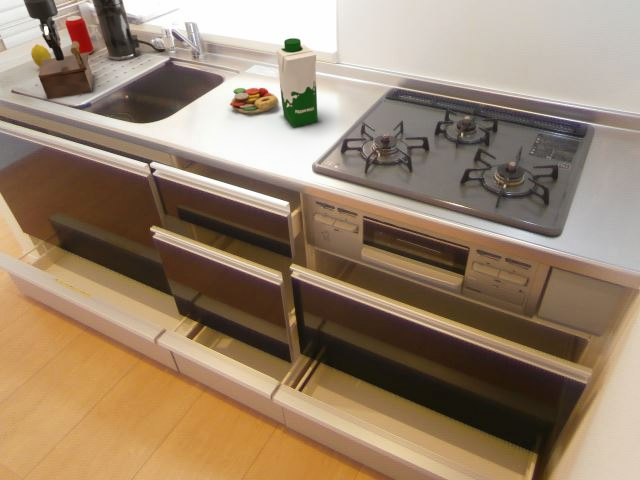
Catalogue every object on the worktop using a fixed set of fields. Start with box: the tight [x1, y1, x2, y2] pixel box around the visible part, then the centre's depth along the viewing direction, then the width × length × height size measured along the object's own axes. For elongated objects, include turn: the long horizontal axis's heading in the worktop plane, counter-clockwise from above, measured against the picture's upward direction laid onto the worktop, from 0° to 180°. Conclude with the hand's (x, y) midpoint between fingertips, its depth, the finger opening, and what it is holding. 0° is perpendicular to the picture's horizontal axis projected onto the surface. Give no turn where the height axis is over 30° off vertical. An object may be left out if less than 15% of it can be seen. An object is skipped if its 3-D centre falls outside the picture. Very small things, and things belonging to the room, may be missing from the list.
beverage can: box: [65, 15, 94, 55], centre depth 176 cm, size 6×6×12 cm
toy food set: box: [229, 87, 279, 115], centre depth 141 cm, size 13×13×3 cm
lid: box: [38, 41, 90, 79], centre depth 151 cm, size 13×13×6 cm
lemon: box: [30, 43, 52, 68], centre depth 167 cm, size 6×6×8 cm
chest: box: [39, 62, 94, 100], centre depth 155 cm, size 13×13×6 cm
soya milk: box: [276, 37, 319, 128], centre depth 129 cm, size 9×9×20 cm
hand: (60, 59), depth 151 cm, fingers closed
